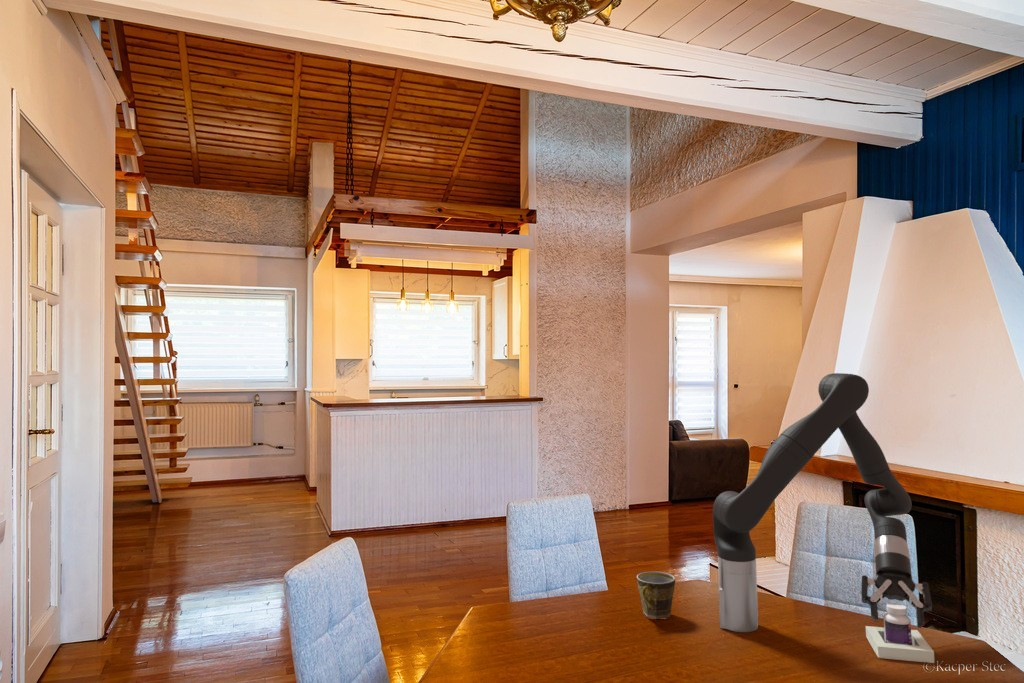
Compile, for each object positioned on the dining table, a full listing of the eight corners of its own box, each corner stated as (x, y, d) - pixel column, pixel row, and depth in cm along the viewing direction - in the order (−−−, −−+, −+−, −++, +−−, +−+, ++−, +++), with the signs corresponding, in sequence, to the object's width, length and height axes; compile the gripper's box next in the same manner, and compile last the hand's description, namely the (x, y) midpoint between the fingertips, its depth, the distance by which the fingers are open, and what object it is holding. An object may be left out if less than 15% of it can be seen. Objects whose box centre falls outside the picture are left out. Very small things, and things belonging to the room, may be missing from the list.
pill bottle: (915, 654, 150) (913, 610, 150) (889, 653, 151) (887, 609, 151) (906, 644, 155) (904, 602, 155) (881, 643, 156) (879, 601, 156)
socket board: (878, 657, 148) (877, 646, 149) (866, 636, 160) (865, 626, 160) (934, 663, 145) (933, 651, 145) (917, 640, 157) (917, 630, 157)
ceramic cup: (647, 606, 183) (646, 569, 183) (682, 613, 177) (680, 575, 178) (626, 621, 173) (625, 582, 173) (662, 629, 167) (661, 589, 167)
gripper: (859, 547, 163) (862, 611, 153) (927, 554, 157) (935, 620, 146) (859, 563, 168) (862, 626, 157) (925, 570, 162) (933, 635, 151)
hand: (897, 623), depth 152 cm, fingers open, 8 cm apart
